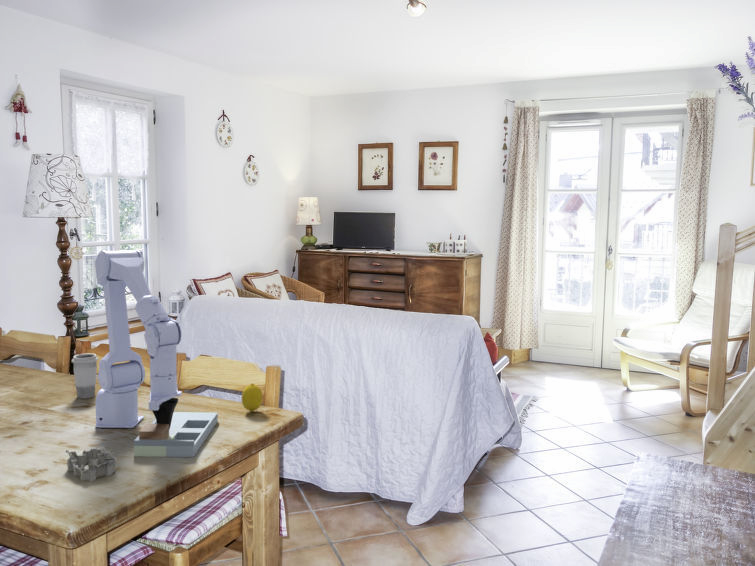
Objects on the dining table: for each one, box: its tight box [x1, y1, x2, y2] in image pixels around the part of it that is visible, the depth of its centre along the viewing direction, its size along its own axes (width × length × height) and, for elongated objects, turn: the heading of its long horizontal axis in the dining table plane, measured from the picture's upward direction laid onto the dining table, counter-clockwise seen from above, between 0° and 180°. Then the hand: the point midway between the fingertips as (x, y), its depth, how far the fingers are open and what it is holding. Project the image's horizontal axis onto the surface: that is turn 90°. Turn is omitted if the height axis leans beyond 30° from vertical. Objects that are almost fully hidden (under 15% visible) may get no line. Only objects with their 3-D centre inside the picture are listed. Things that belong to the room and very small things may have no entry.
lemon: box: [241, 383, 263, 413], centre depth 164 cm, size 6×6×8 cm
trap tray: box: [133, 411, 219, 458], centre depth 144 cm, size 13×23×4 cm, turn 2°
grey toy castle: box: [65, 446, 118, 482], centre depth 125 cm, size 11×8×4 cm
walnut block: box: [138, 423, 169, 440], centre depth 135 cm, size 5×5×3 cm
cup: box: [71, 352, 99, 400], centre depth 174 cm, size 7×7×12 cm
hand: (164, 430), depth 139 cm, fingers closed
